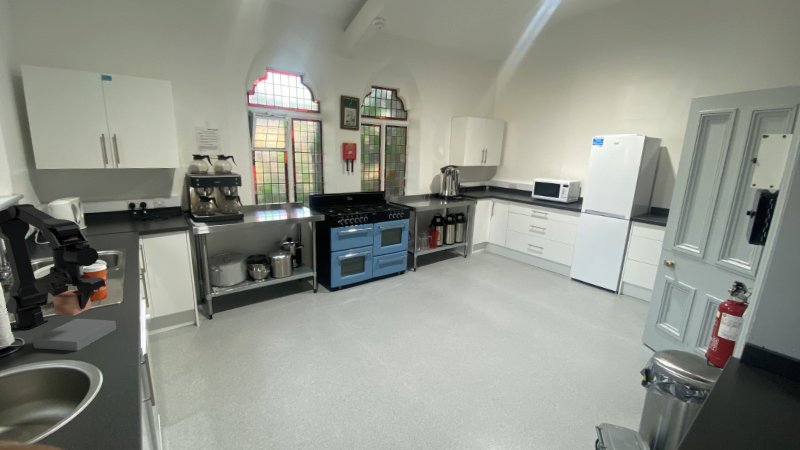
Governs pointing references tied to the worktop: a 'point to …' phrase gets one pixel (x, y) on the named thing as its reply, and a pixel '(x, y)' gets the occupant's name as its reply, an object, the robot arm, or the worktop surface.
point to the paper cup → (98, 272)
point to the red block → (68, 304)
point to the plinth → (74, 334)
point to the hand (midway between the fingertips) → (73, 308)
